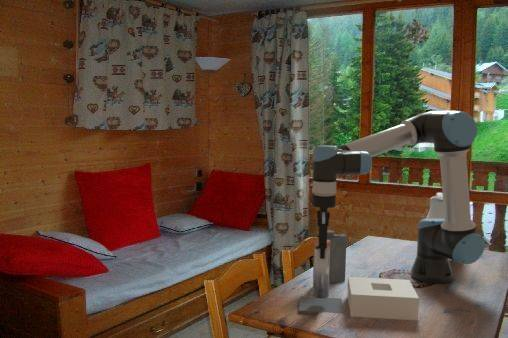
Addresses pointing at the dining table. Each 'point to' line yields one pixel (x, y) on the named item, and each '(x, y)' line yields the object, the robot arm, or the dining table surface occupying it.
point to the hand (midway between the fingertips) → (321, 264)
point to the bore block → (382, 298)
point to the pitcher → (436, 208)
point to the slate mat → (320, 305)
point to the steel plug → (321, 274)
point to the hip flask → (336, 257)
